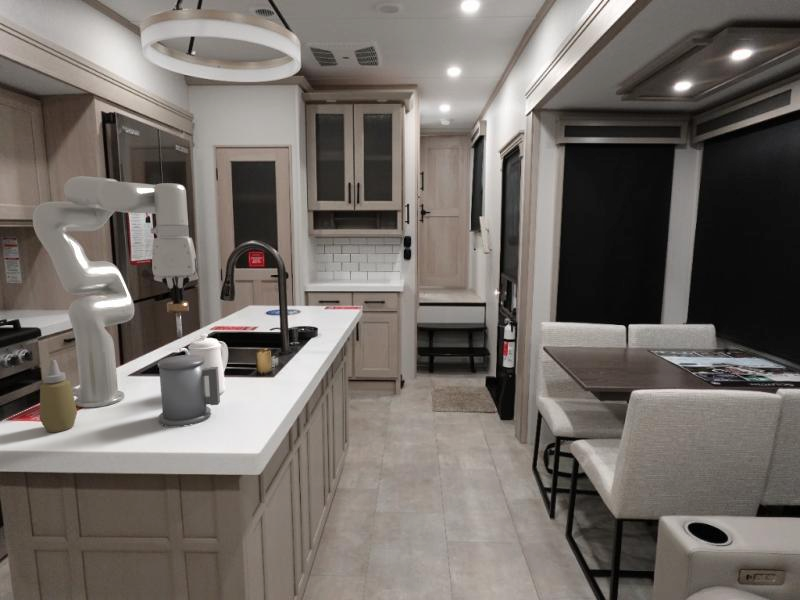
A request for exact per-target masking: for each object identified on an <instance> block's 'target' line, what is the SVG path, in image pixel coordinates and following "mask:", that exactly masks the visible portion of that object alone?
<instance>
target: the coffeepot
mask: <svg viewBox="0 0 800 600" xmlns="http://www.w3.org/2000/svg"><path fill="white" fill-rule="evenodd" d="M208 336H209V335H208V333H202V334H200V338H197V339H196V338H195V339H194V340H192V341H191V342H190V344H189V345H188V346H187V347H188V348H185V347H182V348H178V349H177V351H176V352H177V353H180V352H185V355H199V356H203V357H204V358H205V362H204V368H210V367H218V376H219V393H220V395H222V394H223V393H224V392H225V391H226V380H225V379H226V378H225V370H226V368H227V364H228V362H229V361H228V360H229V349H228V345H227V344H226V342H224V341H221V340H218V339H217V338H213V337H208ZM205 390H206V396H210V389H209V376H205Z"/></svg>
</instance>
